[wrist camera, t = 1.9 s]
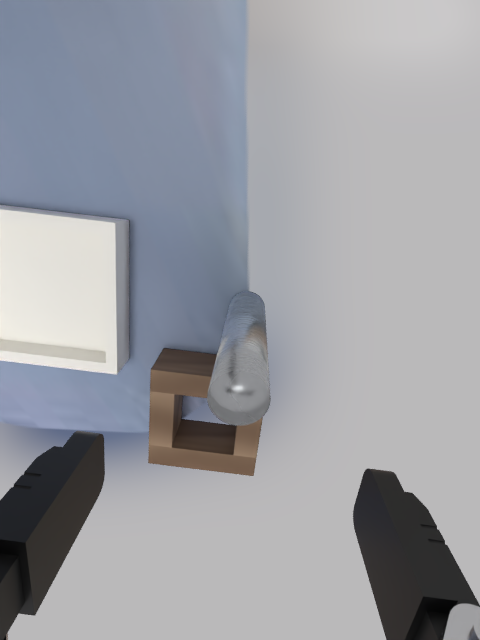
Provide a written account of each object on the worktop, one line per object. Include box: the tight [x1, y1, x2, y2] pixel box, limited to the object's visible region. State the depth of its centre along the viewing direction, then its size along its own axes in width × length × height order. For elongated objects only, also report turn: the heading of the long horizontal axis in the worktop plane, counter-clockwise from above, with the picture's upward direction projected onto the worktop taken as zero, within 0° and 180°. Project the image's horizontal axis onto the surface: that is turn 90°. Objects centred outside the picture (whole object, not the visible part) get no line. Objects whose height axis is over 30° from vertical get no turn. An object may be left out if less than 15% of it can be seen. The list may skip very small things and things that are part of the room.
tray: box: [0, 205, 129, 374], centre depth 25 cm, size 11×11×2 cm
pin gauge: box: [207, 291, 270, 426], centre depth 20 cm, size 3×3×12 cm
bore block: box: [148, 348, 263, 476], centre depth 27 cm, size 8×8×4 cm
